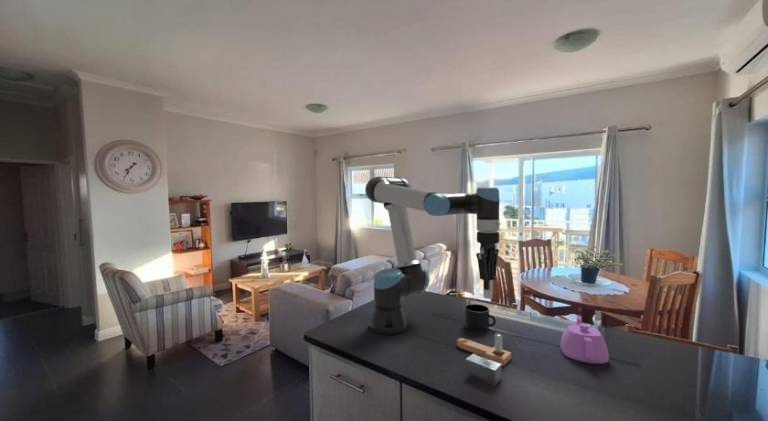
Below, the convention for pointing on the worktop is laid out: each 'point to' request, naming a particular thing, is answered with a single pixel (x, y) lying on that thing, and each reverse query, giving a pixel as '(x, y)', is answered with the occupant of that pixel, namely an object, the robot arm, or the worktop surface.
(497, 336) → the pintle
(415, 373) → the worktop surface
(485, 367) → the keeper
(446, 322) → the worktop surface
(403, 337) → the worktop surface
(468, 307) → the mug
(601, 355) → the teapot
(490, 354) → the link
